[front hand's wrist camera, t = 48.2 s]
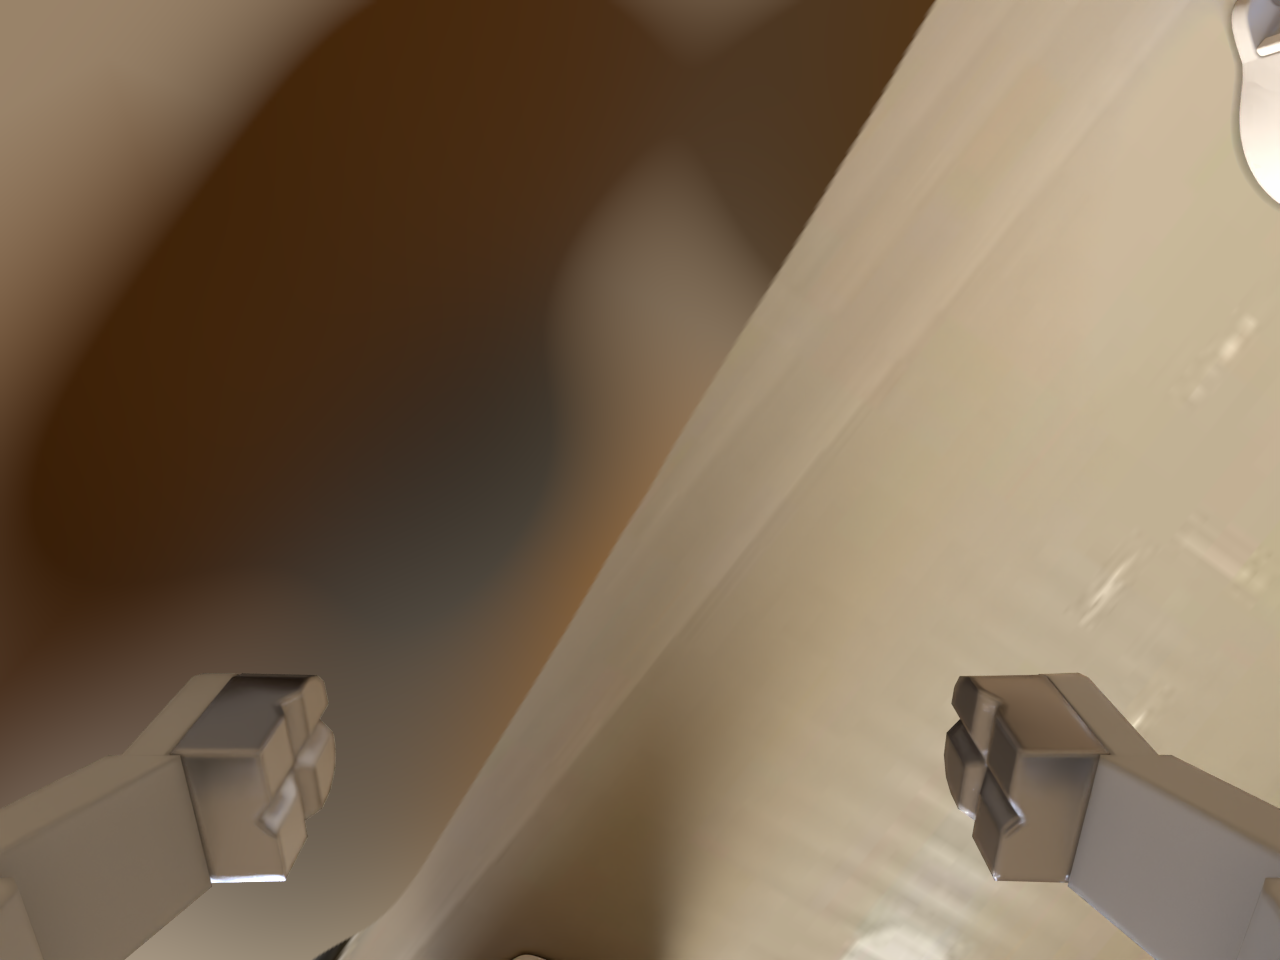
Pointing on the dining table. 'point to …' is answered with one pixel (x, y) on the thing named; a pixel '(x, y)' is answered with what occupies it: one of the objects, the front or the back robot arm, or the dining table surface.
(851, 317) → the dining table surface
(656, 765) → the dining table surface
